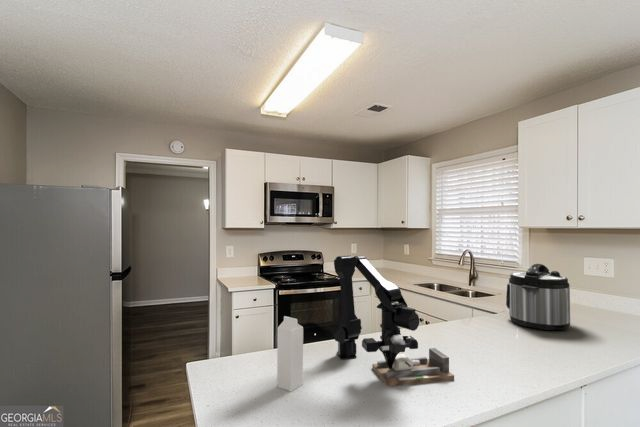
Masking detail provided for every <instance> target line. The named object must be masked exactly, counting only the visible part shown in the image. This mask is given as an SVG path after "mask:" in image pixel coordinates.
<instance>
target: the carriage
mask: <svg viewBox="0 0 640 427" xmlns="http://www.w3.org/2000/svg"><path fill="white" fill-rule="evenodd" d="M413 365H420V361H419V360H411V359H410V357H409V356H407V355H406V354H405V353H401V354H400V353H398V354H397V356H396V358H395V360H394V363H393V366H392V368H393V369H394V370H395V371H398V370H408V369H413Z"/></svg>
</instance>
